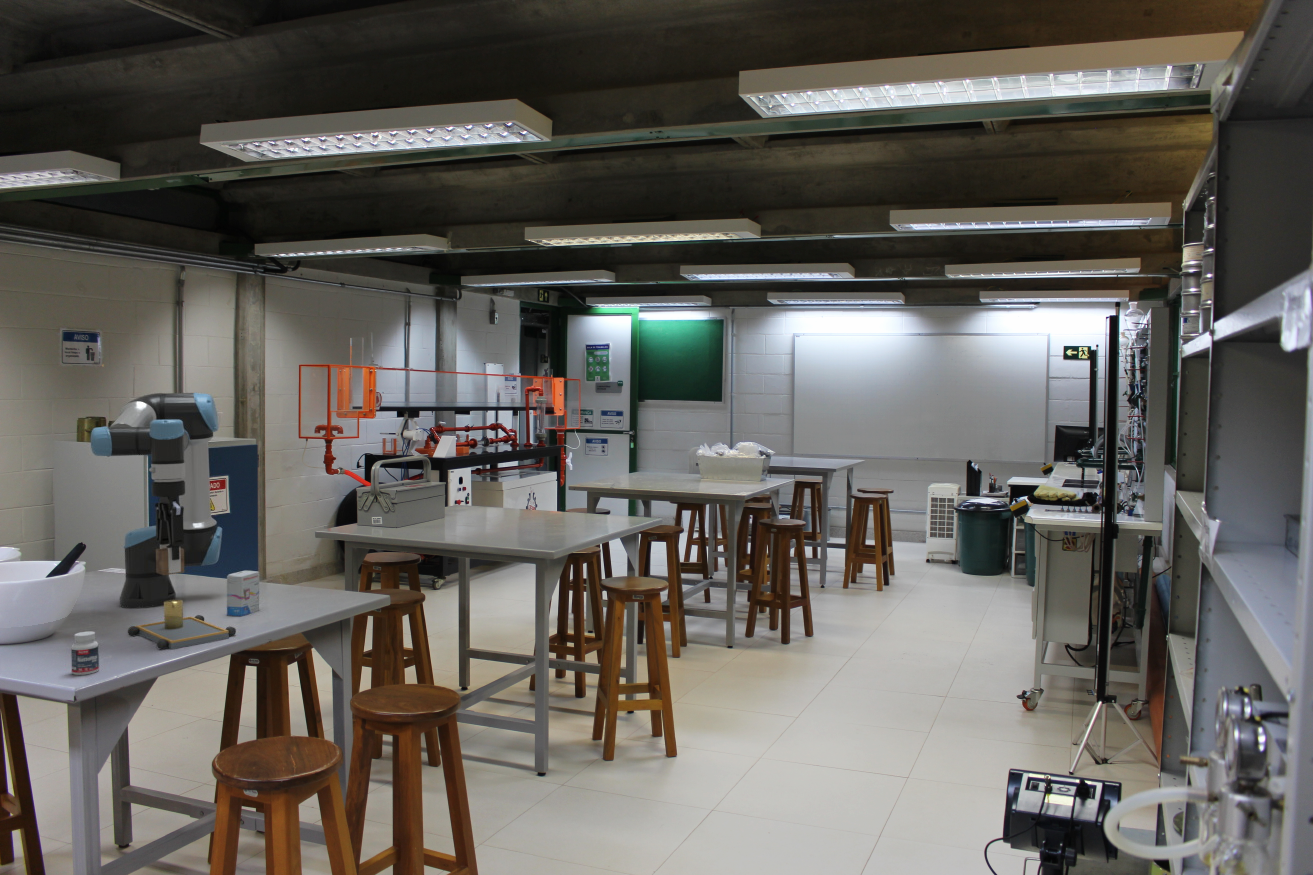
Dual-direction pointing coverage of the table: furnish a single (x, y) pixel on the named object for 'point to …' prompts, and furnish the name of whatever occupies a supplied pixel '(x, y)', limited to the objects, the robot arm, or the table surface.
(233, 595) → the ink box
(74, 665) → the pill bottle
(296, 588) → the table surface
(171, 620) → the cylinder
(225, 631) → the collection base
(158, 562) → the walnut block
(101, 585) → the table surface
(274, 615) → the table surface
